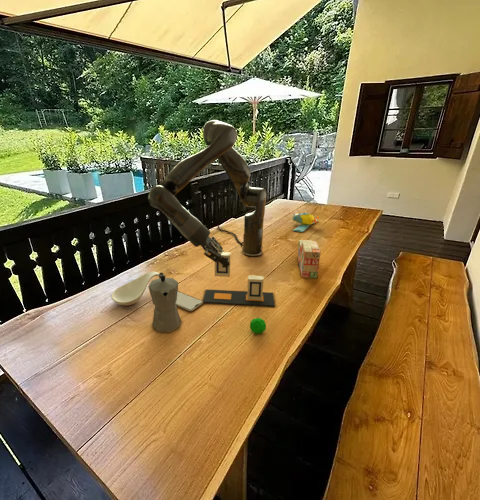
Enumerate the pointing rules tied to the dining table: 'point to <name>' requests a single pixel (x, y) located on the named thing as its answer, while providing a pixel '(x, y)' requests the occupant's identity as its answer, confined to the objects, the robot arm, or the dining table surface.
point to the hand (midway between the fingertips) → (228, 263)
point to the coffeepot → (164, 303)
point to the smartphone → (187, 301)
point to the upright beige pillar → (255, 287)
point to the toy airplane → (304, 221)
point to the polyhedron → (257, 325)
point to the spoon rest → (132, 290)
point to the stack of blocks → (308, 258)
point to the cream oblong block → (220, 269)
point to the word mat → (237, 298)
